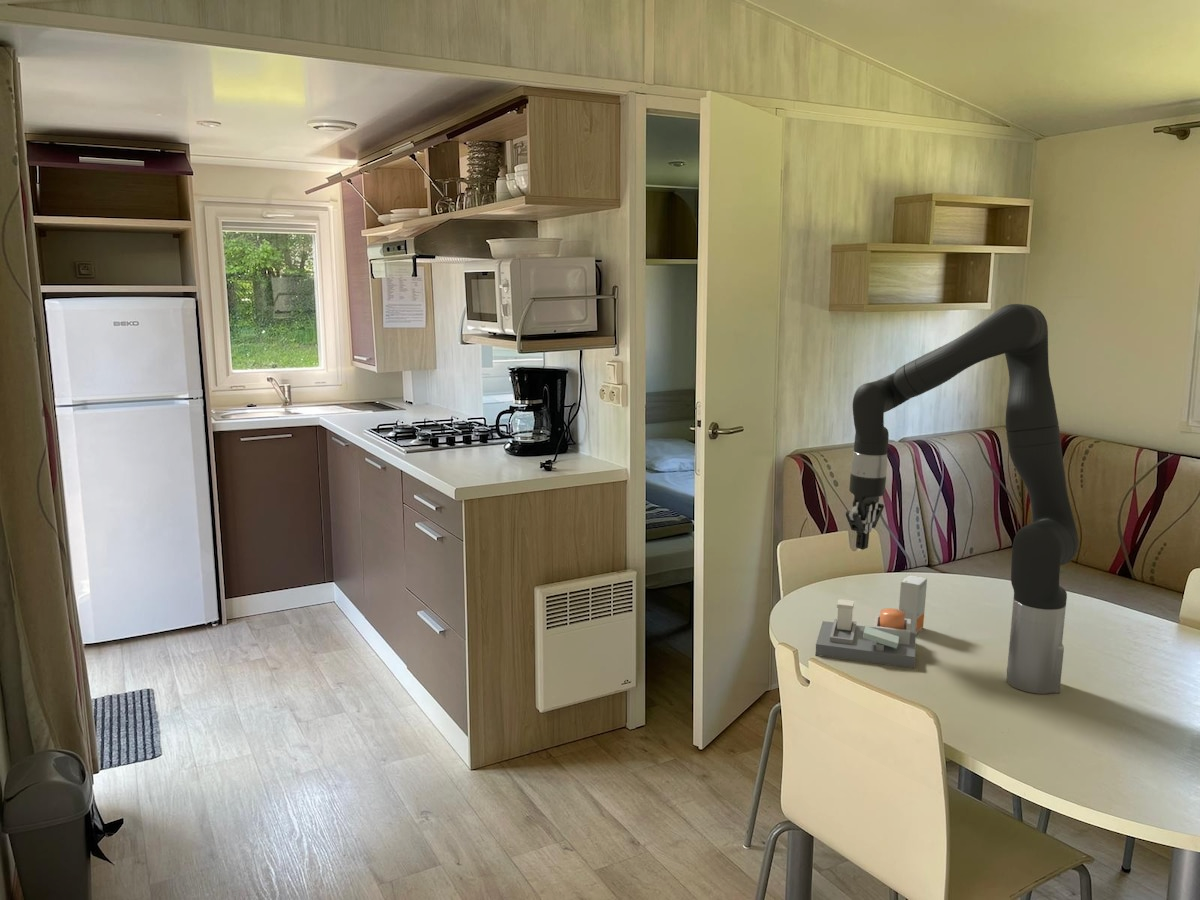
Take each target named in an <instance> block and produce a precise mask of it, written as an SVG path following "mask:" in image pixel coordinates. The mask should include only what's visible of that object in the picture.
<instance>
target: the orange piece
mask: <svg viewBox="0 0 1200 900" xmlns="http://www.w3.org/2000/svg"><path fill="white" fill-rule="evenodd" d="M904 620H905V613H904V612H903V611H901V610H899V608H898V609H897V608H892V607H891V608H889V607H888V608H887V607H886V608H882V609H881V610H880V627H888V628H896V629H904Z"/></svg>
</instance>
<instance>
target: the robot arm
mask: <svg viewBox="0 0 1200 900" xmlns="http://www.w3.org/2000/svg"><path fill="white" fill-rule="evenodd" d="M1048 328H1049V327H1048V322H1047V320H1046V316H1045V315H1044V313H1043V312H1042V311H1041V310H1039V309H1038V308H1037V307H1036V306H1035V307H1034V306H1033V305H1029V304H1023V303H1022V304H1021V303H1010V304H1006V305H1003V306H1002V307H1001V308H999V309H998V310H995V312H993V313H992V314H990V315H989V316H988V317H987V318H985V319H984V320H982V321H981V322H980V323H978V324H977V325H975V326H974V327H973V328H971V329H970V330H968V331H966V332H965V333H964V334H961V335H959V336H958V337H956V338H955V339H953V340H951V341H950V342H948V343H946V344H943V345H942V346H939V347H938V348H935V349H934V350H931V351H930V352H927V353H925V354H923V355H922V356H919V357H917V358H915V359H913V360H911V361H909V362H907V363H905V364H903V365H902V366H900V367H898V369H896V370H895V372H893V373H890V374H888V375H886V376H884V377H883V378H879V379H878V380H875V381H874V380H873V381H871V382H866V383H863V384H861V385H860V386H859V387H857V389H856V391H855V392H854V395H853V399H852V416H853V425H854V431H855V434H854V444H853V453H852V454H853V455H852V458H851V464H850V465H851V466H850V474H849V476H850V477H849V489H848V490H849V493H851V494H853V496H854V498H853V501H852V509H851V510H847V511H846V512H845V517H846V520H847V523H848V524H849V527H850V529H851V530H852V531H854V532H855V533H856V539H855V548H856V549H858V550H859V549H860V550H861V551H862V550H865V549H868V547H869V539H870V533H871V532H872V530H873V529H875V528H876V527H877V524H878V522H879V520H880V517H881V515H882V513H883V510H884V508H885V505H884V503H880V498H881V497H883V496H884V495H885V492H886V485H887V474H888V473H887V472H888V449H889V438H890V437H889V430H888V429H887V427H885V426H884V425H885V419H884V416H885V413H887V412H888V411H891V410H894V409H895V408H897V407H898V406H900V405H902V404H903V403H905V402H906V401H908V400H911V399H912V398H913V399H914V397H918V396H920V395H922V394H924V393H926V392H929V391H931V390H933V389H935V388H937V387H939V386H941V385H943V384H944V383H946V382H948V381H950V380H952V378H954V377H955V376H957V375H960V373H962V372H964V371H965V370H967V369H968V368H971V367H973V366H974V365H975V364H978V363H980V362H983V361H985V360H988V359H990V358H993V357H998V356H1001V355H1003V354H1004V356H1005V359H1006V365H1007V370H1008V379H1009V383H1008V385H1009V386H1008V395H1007V401H1006V409H1005V431H1006V433H1005V434H1006V439H1007V447H1008V451H1009V456H1010V460H1011V461H1012V464H1013V466H1014V467H1015V470H1016V471H1017V474H1018V475H1019V477H1020V479H1021V480H1022V482H1023V484H1024V486H1025V487H1026V491H1027V493H1028V496H1029V500H1030V508H1031V515H1032V517H1031V518H1032V523H1029V524H1027V525H1024V526H1023V527H1021V528H1020V529H1018V530H1017V532H1016V534H1015V536H1014V538H1013V542H1012V548H1011V549H1012V550H1011V566H1010V567H1011V568H1010V569H1011V571H1010V572H1011V573H1010V582H1011V583H1010V584H1011V586H1012V589H1013V598H1012V599H1013V600H1012V613H1011V622H1010V633H1009V645H1008V656H1007V667H1006V682H1007V683H1008V684H1009V685H1010V686H1011V687H1013V688H1015V689H1018V690H1020V691H1024V692H1026V693H1032V694H1041V695H1042V694H1043V695H1045V694H1060V692H1061V691H1060V690H1061V682H1062V673H1063V672H1062V671H1063V662H1064V661H1063V660H1064V654H1065V653H1064V651H1065V650H1064V649H1065V647H1064V644H1063V640H1064V639H1063V637H1064V628H1065V619H1066V610H1067V609H1066V608H1067V600H1068V599H1067V598H1068V595H1067V594H1068V592H1067V591H1066V589H1064V588H1063V587H1062V586H1061V585H1060V575H1061V574H1060V573H1061V571H1060V570H1061V566H1063V565H1066V564H1068V563H1070V562H1071V561H1072V560H1073V559H1074V558H1075V557H1076V556H1077V553H1078V550H1079V546H1080V545H1079V543H1080V542H1079V540H1080V539H1079V535H1078V531H1077V526H1076V522H1075V519H1074V514H1073V511H1072V510H1073V509H1072V505H1071V503H1070V498H1069V494H1068V489H1067V480H1066V471H1065V466H1064V465H1065V463H1064V458H1063V451H1062V449H1063V448H1062V442H1061V441H1062V440H1061V432H1060V425H1059V420H1058V419H1059V418H1058V413H1057V408H1056V402H1055V395H1054V390H1053V387H1052V381H1051V378H1050V376H1051V375H1050V367H1049V329H1048Z"/></svg>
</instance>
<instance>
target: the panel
mask: <svg viewBox="0 0 1200 900" xmlns="http://www.w3.org/2000/svg"><path fill="white" fill-rule="evenodd" d="M880 615H881V614H880ZM880 615H879V614H874V617H873V618H874V619H873V624H872V626H870V627H871V628H874V629H877V630H880V631H883V632H886V633H889V634H892V635H896V636H899V640H898V646H897V649H896V648H893V647H890V646H887V645H884V644H881V643H877V642H874V641H871V640H868V639H865V638H863V634H864V629H865V626H866V625H858V624H857V621H855V620H852V628H851V631H850V630H842V629H837V618H834V619H833V621H824V620H822V623H821V626H820V629H819V632H818V636H817V640H816V643H815V656H819V655H822V656H821V657H825V658H826V657H828V658H834V659H843V660H850V661H856V662H857V661H858V662H863V663H864V662H865V663H871V664H872V663H873V664H878V665H879V664H881V665H887V666H893V667H901V668H909V669H915V665H916V664H915V663H916V635H917V633H916V632H910V626H911V619H905V620H904V629H896V628H888V627H880Z"/></svg>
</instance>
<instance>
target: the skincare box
mask: <svg viewBox="0 0 1200 900" xmlns="http://www.w3.org/2000/svg"><path fill="white" fill-rule="evenodd" d="M927 584H928V578H925V577H920V576H915V575H908V576H907V577H905V578H903V580H901V582H900V590H899V601H898V603H899V604H898V610H901V611H903V612H904V613H905V619H911V626H910V632H916V634H918V632H919V631H921V630H922V629H923V628H924V623H925V608H926V598H927V587H928V586H927Z"/></svg>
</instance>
